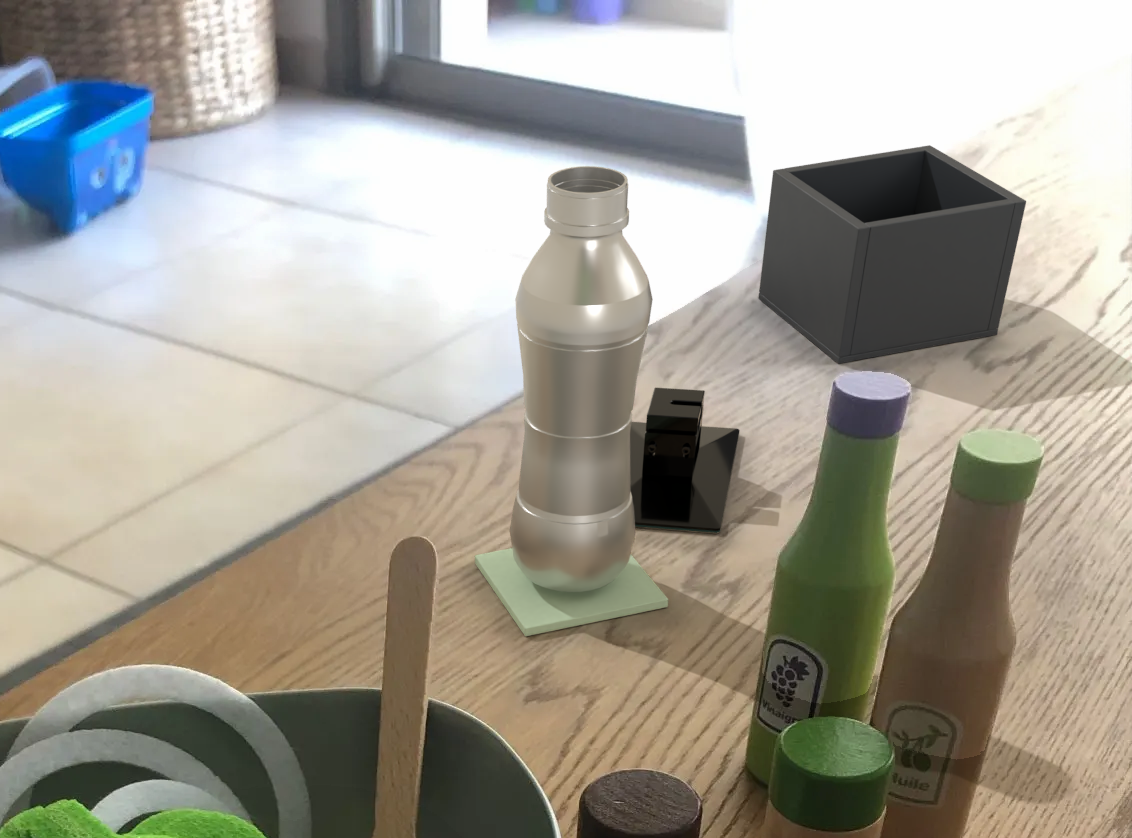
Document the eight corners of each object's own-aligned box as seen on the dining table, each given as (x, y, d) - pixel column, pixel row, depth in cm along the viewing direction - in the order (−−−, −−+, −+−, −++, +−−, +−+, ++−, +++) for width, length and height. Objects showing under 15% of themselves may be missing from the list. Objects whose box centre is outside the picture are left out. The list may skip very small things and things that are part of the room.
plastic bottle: (569, 532, 91) (585, 145, 77) (658, 577, 87) (692, 179, 73) (483, 574, 88) (483, 180, 74) (571, 623, 84) (589, 217, 70)
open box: (907, 272, 116) (930, 144, 110) (997, 334, 108) (1026, 200, 102) (757, 298, 113) (772, 169, 108) (838, 363, 105) (858, 228, 100)
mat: (609, 536, 91) (610, 528, 91) (668, 607, 86) (668, 598, 85) (474, 563, 90) (474, 555, 89) (525, 636, 84) (525, 628, 84)
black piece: (719, 536, 91) (728, 458, 88) (589, 526, 92) (593, 449, 89) (739, 433, 99) (748, 358, 96) (620, 425, 101) (624, 351, 97)
